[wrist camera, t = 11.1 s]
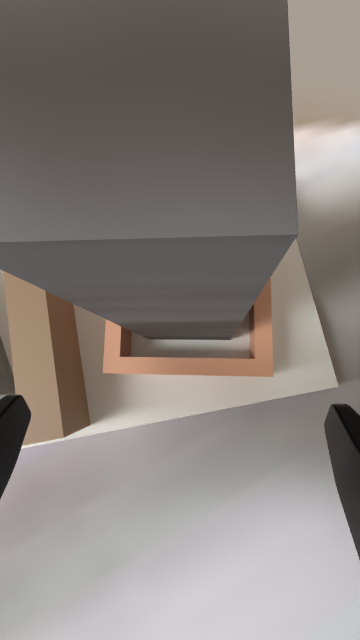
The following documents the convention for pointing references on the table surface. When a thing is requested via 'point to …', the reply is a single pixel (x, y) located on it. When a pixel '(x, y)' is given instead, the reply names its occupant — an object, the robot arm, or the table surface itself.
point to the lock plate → (149, 389)
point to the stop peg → (147, 157)
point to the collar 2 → (256, 366)
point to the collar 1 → (5, 374)
